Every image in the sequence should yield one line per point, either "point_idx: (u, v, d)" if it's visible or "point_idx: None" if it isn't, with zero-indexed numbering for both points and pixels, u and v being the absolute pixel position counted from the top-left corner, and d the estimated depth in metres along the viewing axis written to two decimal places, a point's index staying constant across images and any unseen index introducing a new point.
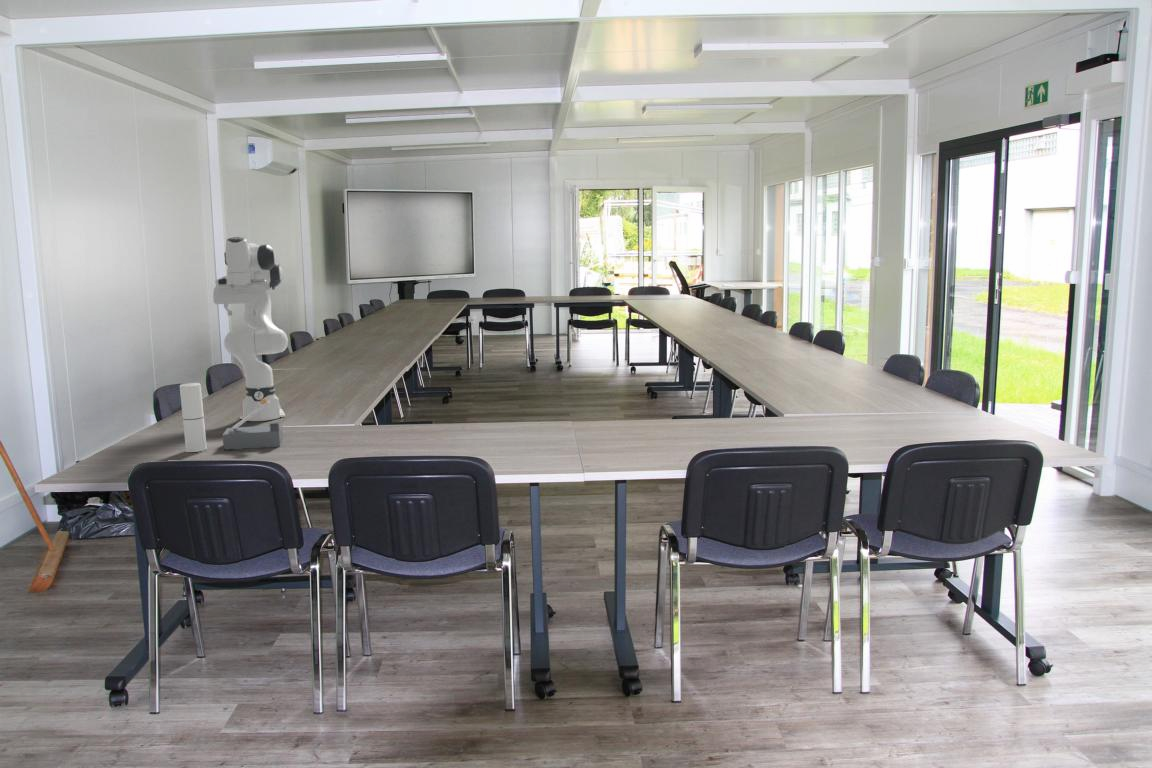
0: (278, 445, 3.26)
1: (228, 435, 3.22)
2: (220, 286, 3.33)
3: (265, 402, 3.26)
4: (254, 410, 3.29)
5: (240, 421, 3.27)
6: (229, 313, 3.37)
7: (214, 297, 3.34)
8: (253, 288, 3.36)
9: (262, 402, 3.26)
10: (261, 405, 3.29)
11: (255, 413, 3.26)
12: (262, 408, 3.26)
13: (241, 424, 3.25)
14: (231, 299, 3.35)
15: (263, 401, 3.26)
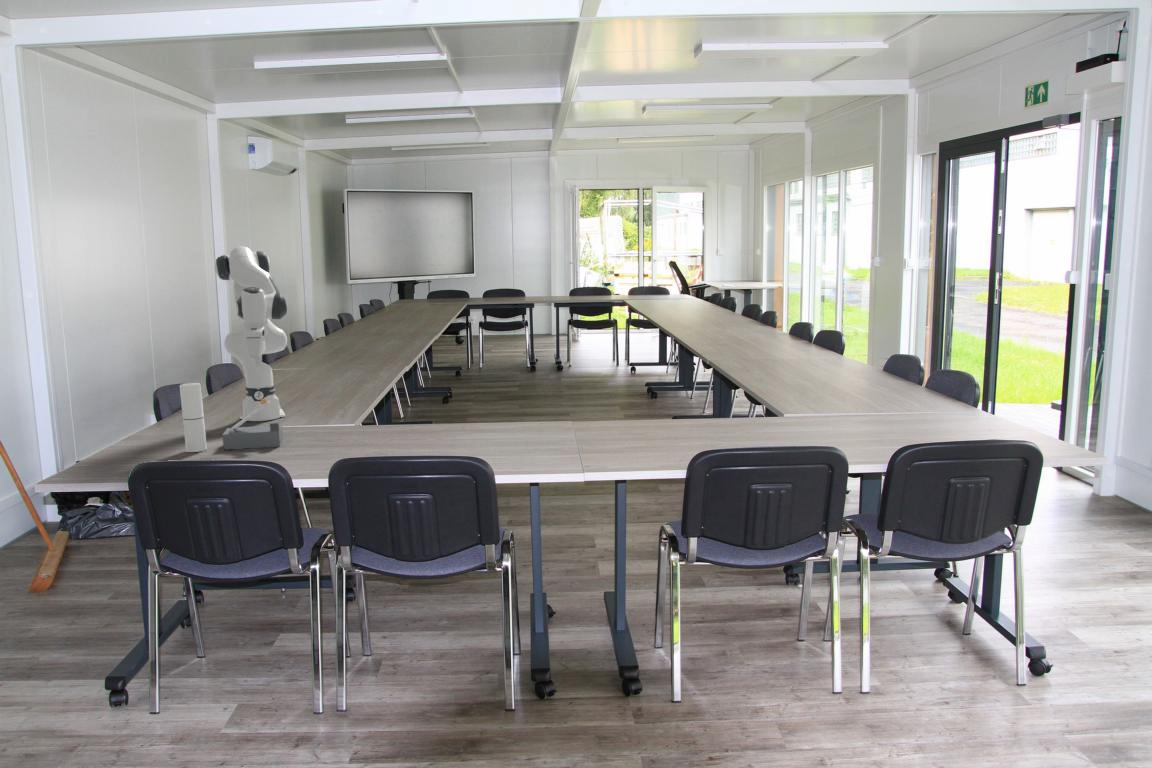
0: (278, 445, 3.26)
1: (228, 435, 3.22)
2: (261, 338, 3.25)
3: (265, 402, 3.26)
4: (254, 410, 3.29)
5: (240, 421, 3.27)
6: (260, 364, 3.32)
7: (259, 350, 3.23)
8: None
9: (262, 402, 3.26)
10: (261, 405, 3.29)
11: (255, 413, 3.26)
12: (262, 408, 3.26)
13: (241, 424, 3.25)
14: (261, 350, 3.29)
15: (263, 401, 3.26)
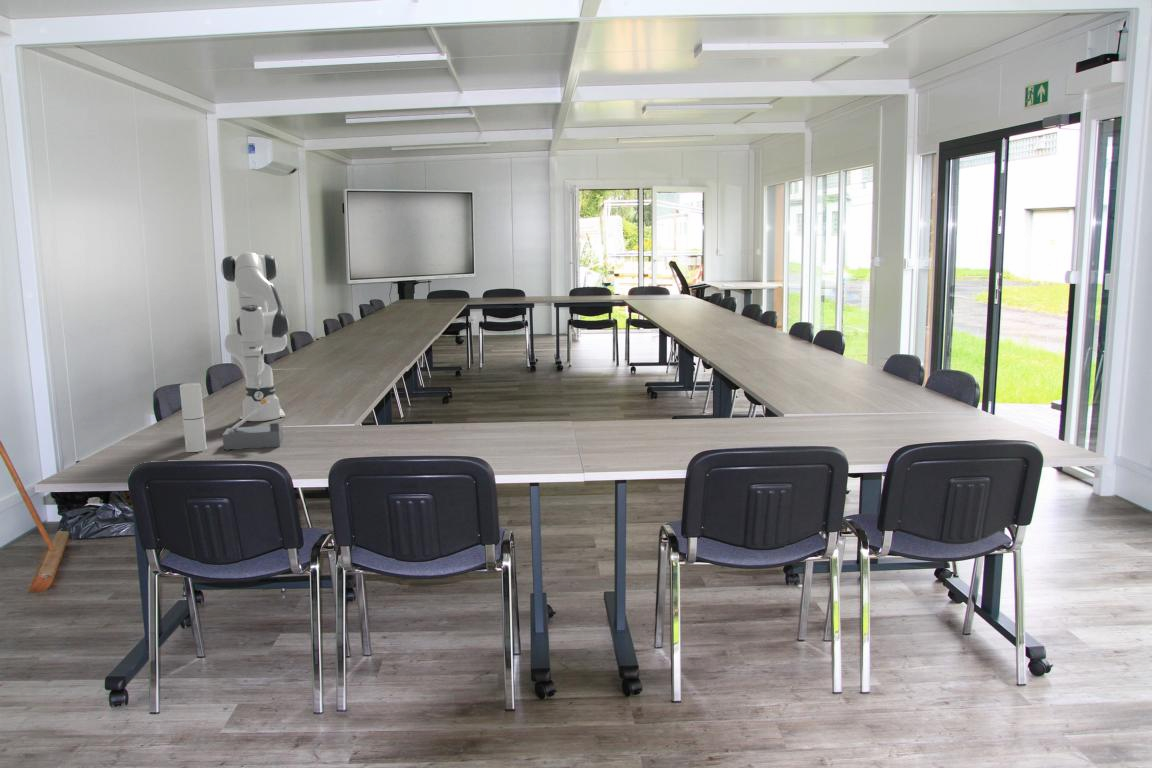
0: (278, 445, 3.26)
1: (228, 435, 3.22)
2: (260, 357, 3.18)
3: (265, 402, 3.26)
4: (254, 410, 3.29)
5: (240, 421, 3.27)
6: (259, 383, 3.25)
7: (258, 369, 3.16)
8: None
9: (262, 402, 3.26)
10: (261, 405, 3.29)
11: (255, 413, 3.26)
12: (262, 408, 3.26)
13: (241, 424, 3.25)
14: (260, 369, 3.22)
15: (263, 401, 3.26)
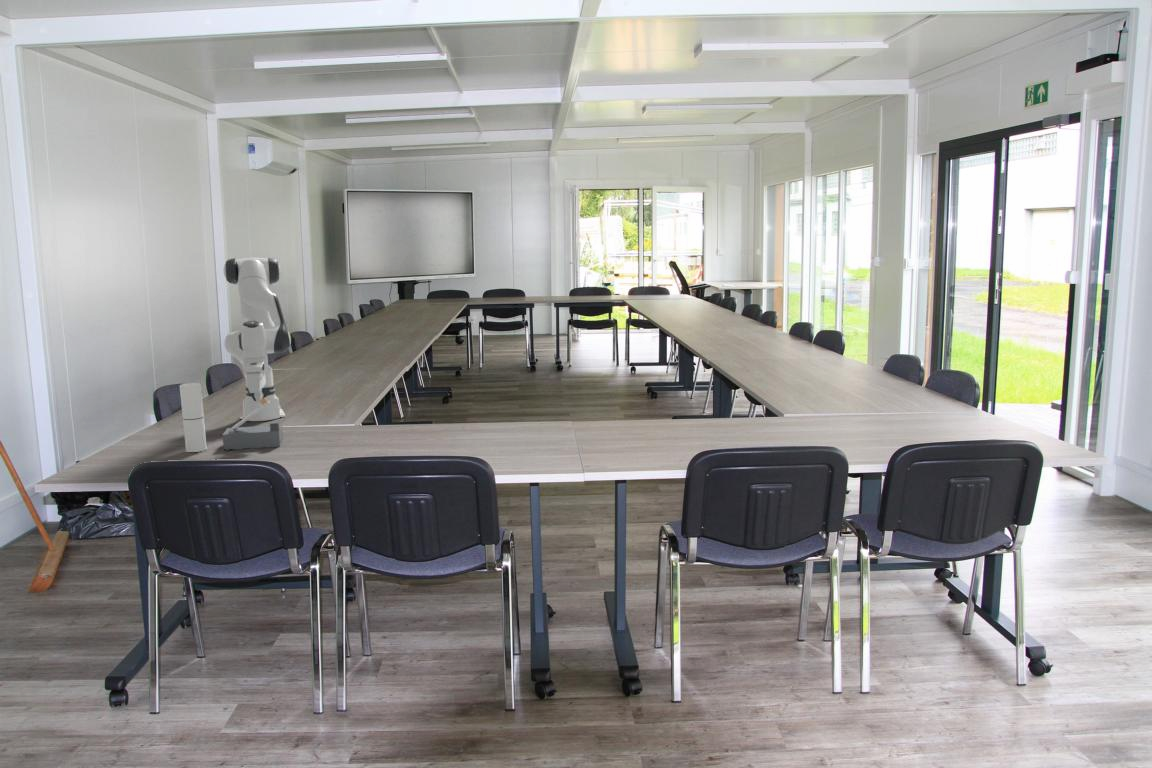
0: (278, 445, 3.26)
1: (228, 435, 3.22)
2: (261, 373, 3.19)
3: (265, 402, 3.26)
4: (254, 410, 3.29)
5: (240, 421, 3.27)
6: (260, 398, 3.27)
7: (259, 385, 3.17)
8: None
9: (262, 402, 3.26)
10: (261, 405, 3.29)
11: (255, 413, 3.26)
12: (262, 408, 3.26)
13: (241, 424, 3.25)
14: (261, 385, 3.23)
15: (263, 401, 3.26)
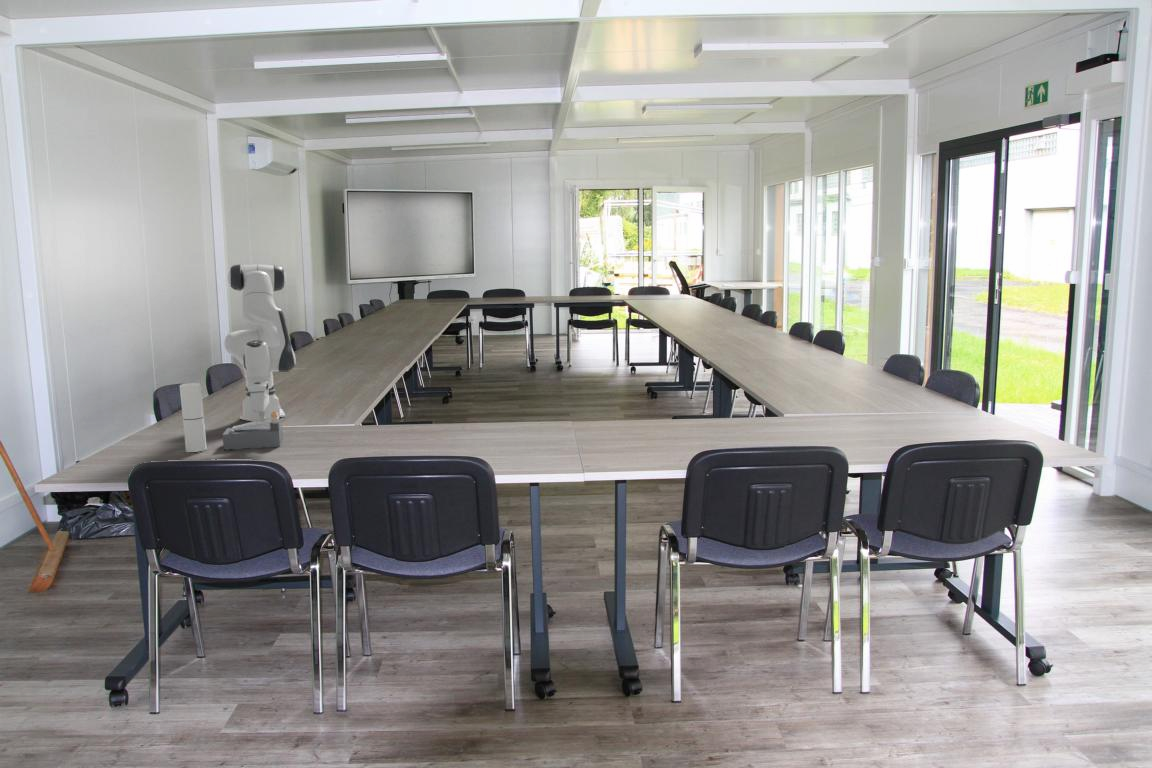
0: (278, 445, 3.26)
1: (228, 435, 3.22)
2: (265, 392, 3.20)
3: (275, 417, 3.28)
4: None
5: (243, 424, 3.27)
6: (264, 418, 3.27)
7: (263, 404, 3.18)
8: None
9: (272, 415, 3.27)
10: (269, 417, 3.30)
11: (261, 423, 3.27)
12: (270, 421, 3.28)
13: None
14: (265, 404, 3.24)
15: (274, 415, 3.27)
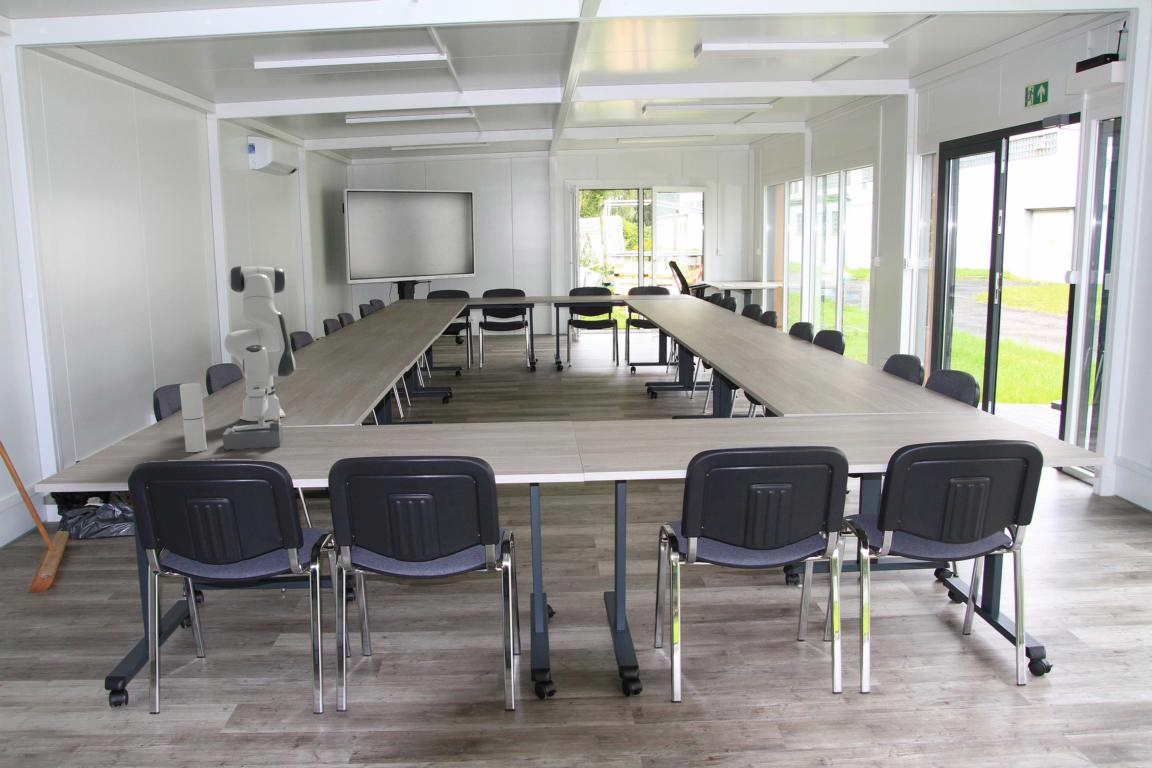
0: (278, 445, 3.26)
1: (228, 435, 3.22)
2: (264, 397, 3.21)
3: None
4: None
5: (244, 426, 3.28)
6: (263, 422, 3.28)
7: (262, 409, 3.19)
8: None
9: (274, 421, 3.28)
10: None
11: (262, 427, 3.27)
12: None
13: None
14: (264, 409, 3.25)
15: (276, 421, 3.28)
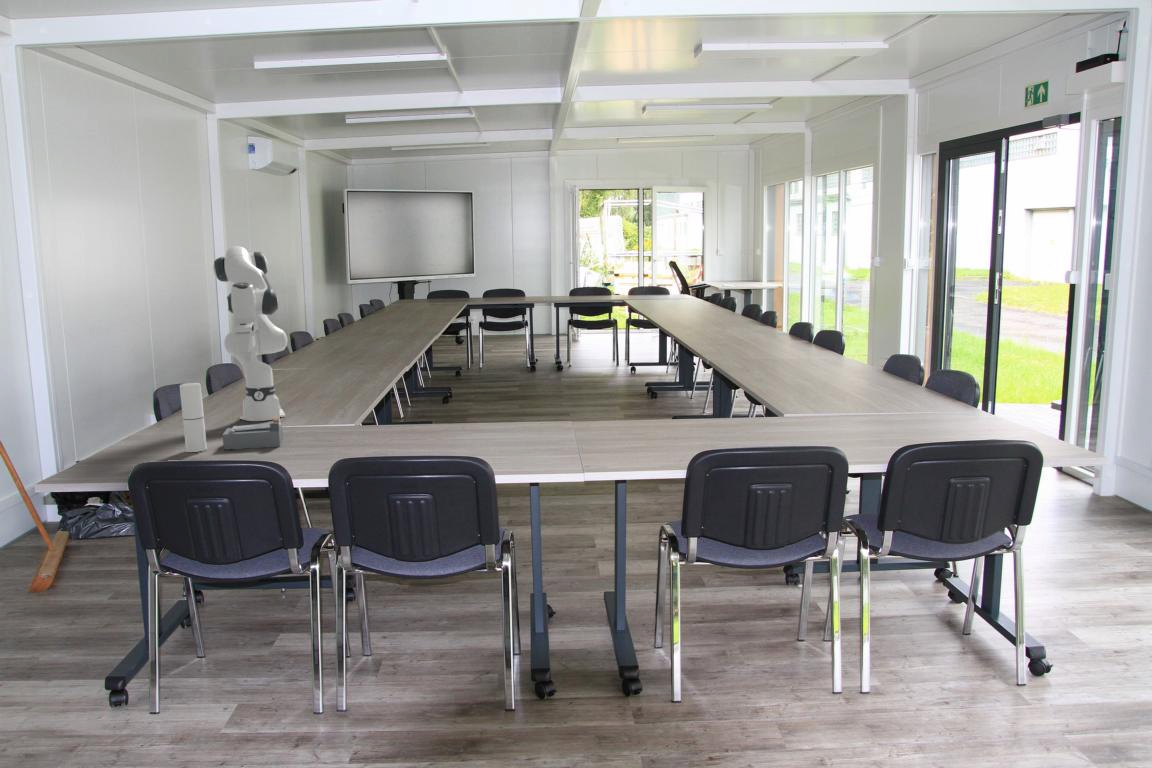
0: (278, 445, 3.26)
1: (228, 435, 3.22)
2: (250, 333, 3.25)
3: None
4: None
5: (244, 426, 3.28)
6: (250, 359, 3.33)
7: (248, 345, 3.23)
8: None
9: (274, 421, 3.28)
10: None
11: (262, 427, 3.27)
12: None
13: None
14: (250, 345, 3.29)
15: (276, 421, 3.28)
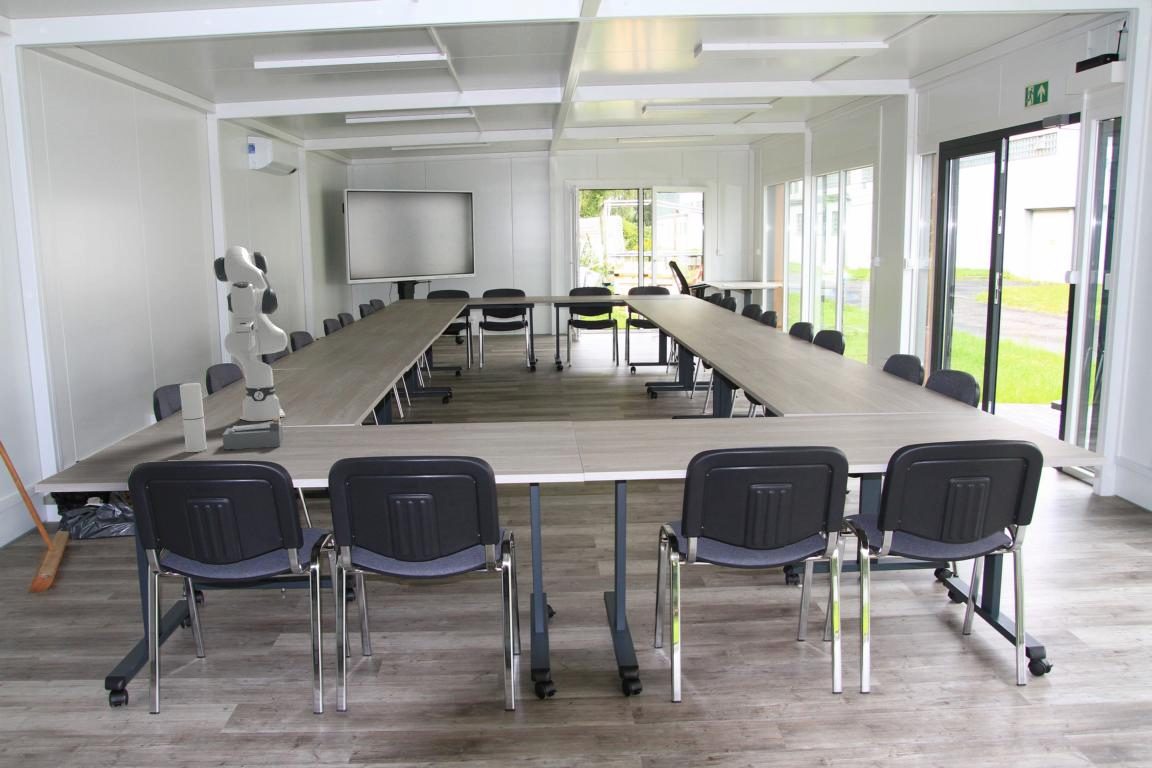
0: (278, 445, 3.26)
1: (228, 435, 3.22)
2: (250, 332, 3.25)
3: None
4: None
5: (244, 426, 3.28)
6: (250, 358, 3.33)
7: (248, 344, 3.23)
8: None
9: (274, 421, 3.28)
10: None
11: (262, 427, 3.27)
12: None
13: None
14: (250, 345, 3.29)
15: (276, 421, 3.28)
